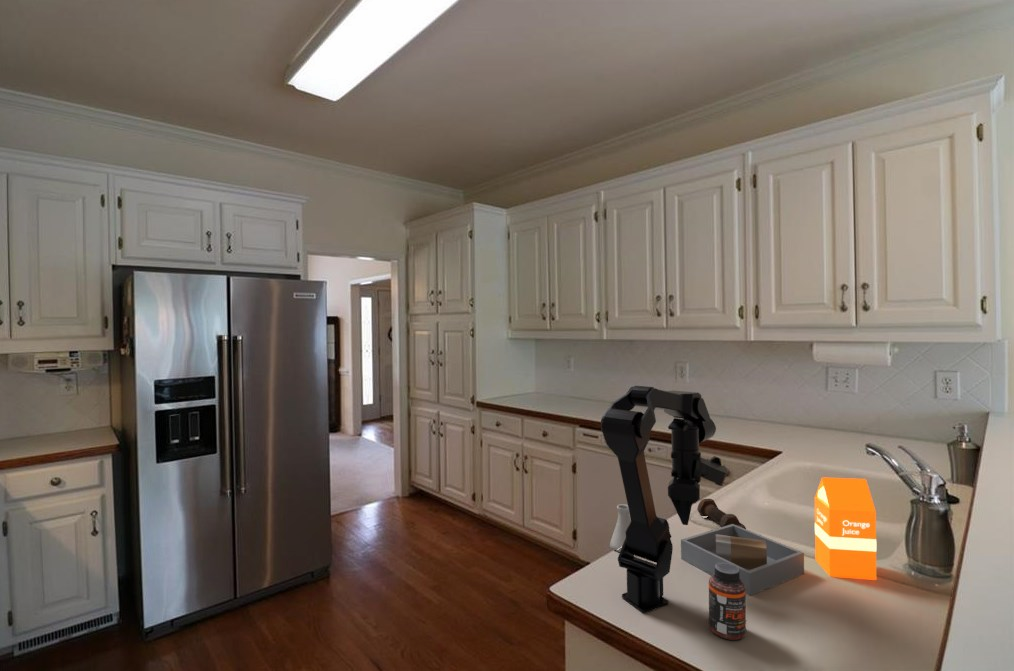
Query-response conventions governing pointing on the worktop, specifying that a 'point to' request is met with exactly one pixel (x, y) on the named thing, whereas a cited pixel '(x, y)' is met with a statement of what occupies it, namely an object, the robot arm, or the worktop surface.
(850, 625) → the worktop surface
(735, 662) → the worktop surface
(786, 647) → the worktop surface
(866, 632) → the worktop surface
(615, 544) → the flask
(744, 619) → the supplement bottle
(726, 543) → the tan rectangular block
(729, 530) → the bin
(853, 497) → the orange juice
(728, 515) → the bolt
